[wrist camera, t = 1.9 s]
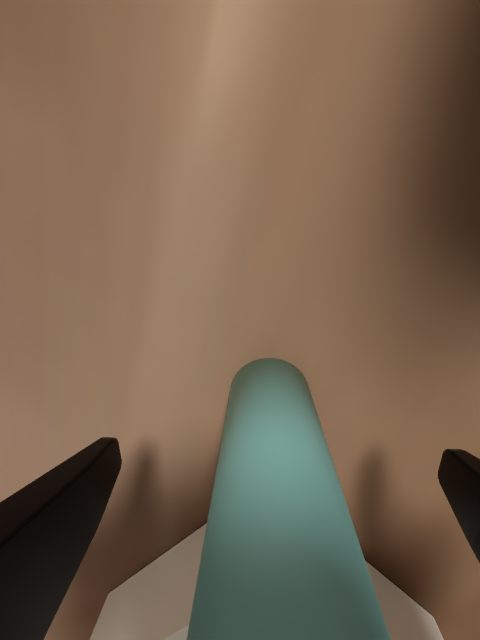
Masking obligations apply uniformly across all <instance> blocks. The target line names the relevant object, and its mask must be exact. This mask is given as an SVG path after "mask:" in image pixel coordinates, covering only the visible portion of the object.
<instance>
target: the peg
mask: <svg viewBox="0 0 480 640" xmlns="http://www.w3.org/2000/svg"><path fill="white" fill-rule="evenodd" d="M187 640H391V639H390V636H389V633H388V629H387V626H386V623H385V620H384V617H383V614H382V611H381V608H380V605H379V602H378V599H377V596H376V593H375V590H374V586H373V583H372V580H371V577H370V574H369V571H368V568H367V565H366V562H365V559H364V556H363V553H362V550H361V547H360V544H359V540H358V537H357V534H356V531H355V528H354V525H353V522H352V519H351V516H350V513H349V510H348V507H347V504H346V501H345V497H344V494H343V491H342V488H341V485H340V482H339V479H338V476H337V473H336V470H335V467H334V464H333V461H332V458H331V455H330V451H329V448H328V445H327V442H326V439H325V436H324V433H323V430H322V427H321V424H320V421H319V418H318V415H317V412H316V408H315V405H314V402H313V399H312V396H311V393H310V390H309V387H308V384H307V381H306V379H305V377H304V375H303V374H302V373H301V372H300V371H299V369H297V368H296V367H295V366H293V365H292V364H290V363H288V362H286V361H283V360H280V359H274V358H264V359H259V360H255V361H253V362H250V363H248V364H247V365H245V366H244V367H243V368H241V369H240V370H239V371H238V372H237V374H236V375H235V377H234V379H233V381H232V384H231V389H230V394H229V400H228V406H227V411H226V417H225V423H224V429H223V434H222V440H221V446H220V451H219V457H218V463H217V469H216V474H215V480H214V486H213V491H212V497H211V503H210V508H209V514H208V520H207V526H206V531H205V537H204V543H203V548H202V554H201V560H200V566H199V571H198V577H197V583H196V588H195V594H194V600H193V606H192V611H191V617H190V623H189V628H188V634H187Z"/></svg>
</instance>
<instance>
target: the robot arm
mask: <svg viewBox="0 0 480 640" xmlns="http://www.w3.org/2000/svg"><path fill="white" fill-rule="evenodd" d="M121 464H122V459H121V454H120V448H119V443H118V440H117V439H116V438H112V437H103V438H100V439H98V440H97V441H95V442H94V443H92V444H91V445H89V446H88V447H86V448H84V449H83V450H81V451H80V452H78V453H77V454H75V455H74V456H72V457H70V458H69V459H67V460H66V461H64V462H63V463H61V464H59V465H58V466H56V467H55V468H53V469H52V470H50V471H49V472H47V473H45V474H44V475H42V476H41V477H39V478H38V479H36V480H35V481H33V482H31V483H30V484H28V485H27V486H25V487H24V488H22V489H20V490H19V491H17V492H16V493H14V494H13V495H11V496H10V497H8V498H6V499H5V500H3V501H2V502H0V640H43V639H44V637H45V635H46V633H47V631H48V629H49V627H50V625H51V623H52V621H53V619H54V617H55V615H56V613H57V611H58V609H59V607H60V604H61V602H62V600H63V598H64V596H65V594H66V592H67V590H68V588H69V586H70V584H71V582H72V580H73V578H74V576H75V574H76V572H77V570H78V568H79V566H80V564H81V561H82V559H83V557H84V555H85V553H86V551H87V549H88V547H89V545H90V543H91V541H92V539H93V537H94V535H95V533H96V530H97V528H98V526H99V523H100V521H101V519H102V516H103V513H104V511H105V508H106V506H107V503H108V500H109V498H110V495H111V493H112V490H113V487H114V485H115V482H116V479H117V477H118V474H119V472H120V469H121ZM438 479H439V482H440V485H441V487H442V489H443V491H444V493H445V495H446V497H447V499H448V501H449V503H450V505H451V508H452V510H453V512H454V514H455V516H456V518H457V520H458V522H459V524H460V526H461V528H462V530H463V532H464V535H465V537H466V539H467V541H468V542H469V544H470V546H471V548H472V550H473V552H474V554H475V555H476V557H477V559H478V561H479V563H480V459H478V458H477V457H475V456H473V455H472V454H470V453H468V452H466V451H464V450H461V449H446V450H445V451H444V452H443V455H442V458H441V462H440V466H439V470H438Z"/></svg>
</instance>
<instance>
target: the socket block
mask: <svg viewBox="0 0 480 640" xmlns="http://www.w3.org/2000/svg"><path fill="white" fill-rule="evenodd" d="M206 526H207V523H206V524H205V525H203V526H202V527H200V528H199V529H198V530H196V531H195V532H193V533H192V534H191V535H189V536H188V537H186V538H185V539H184V540H182V541H181V542H179V543H178V544H177V545H175V546H174V547H172V548H171V549H170V550H168V551H167V552H166V553H164V554H163V555H161V556H160V557H159V558H157V559H156V560H154V561H153V562H152V563H150V564H149V565H147V566H146V567H145V568H143V569H142V570H140V571H139V572H138V573H136V574H135V575H133V576H132V577H131V578H129V579H128V580H126V581H125V582H124V583H122V584H121V585H119V586H118V587H117V588H115V589H114V590H112V591H111V592H110V593H109V594H108V596H107V599H106V601H105V603H104V606H103V608H102V611H101V613H100V616H99V618H98V620H97V623H96V625H95V628H94V630H93V632H92V635H91V637H90V640H187V634H188V628H189V623H190V617H191V611H192V606H193V600H194V594H195V588H196V583H197V577H198V571H199V566H200V560H201V554H202V548H203V543H204V537H205V531H206ZM365 562H366V565H367V568H368V571H369V574H370V577H371V580H372V583H373V586H374V590H375V593H376V596H377V599H378V602H379V605H380V608H381V611H382V614H383V617H384V620H385V623H386V626H387V629H388V633H389V636H390V639H391V640H444V639H443V637H442V635H441V633H440V631H439V628H438V626H437V624H436V622H435V620H434V617H433V616H432V615H431V614H429V613H428V612H427V611H426V610H425V609H423V608H422V607H421V606H420V605H419V604H417V603H416V602H415V601H414V600H413V599H411V598H410V597H409V596H408V595H406V594H405V593H404V592H403V591H402V590H400V589H399V588H398V587H397V586H396V585H394V584H393V583H392V582H391V581H390V580H388V579H387V578H386V577H385V576H383V575H382V574H381V573H380V572H379V571H377V570H376V569H375V568H374V567H373V566H371V565H370V564H369V563H368V562H367V561H365Z"/></svg>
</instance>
